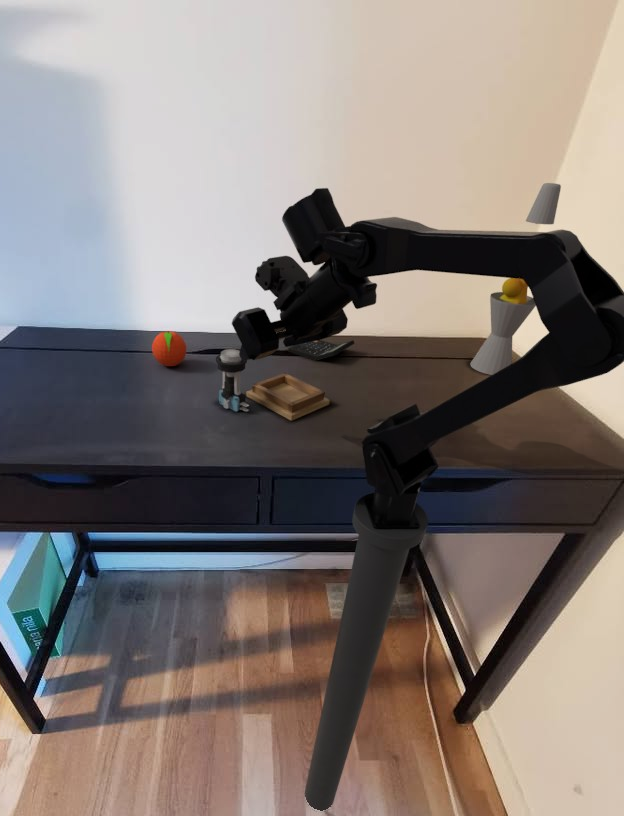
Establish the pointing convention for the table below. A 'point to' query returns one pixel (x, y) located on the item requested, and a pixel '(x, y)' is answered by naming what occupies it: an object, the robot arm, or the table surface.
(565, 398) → the table surface
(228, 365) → the push button
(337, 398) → the table surface
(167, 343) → the clementine
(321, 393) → the base pad
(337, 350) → the calculator
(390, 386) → the table surface
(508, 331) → the lava lamp
